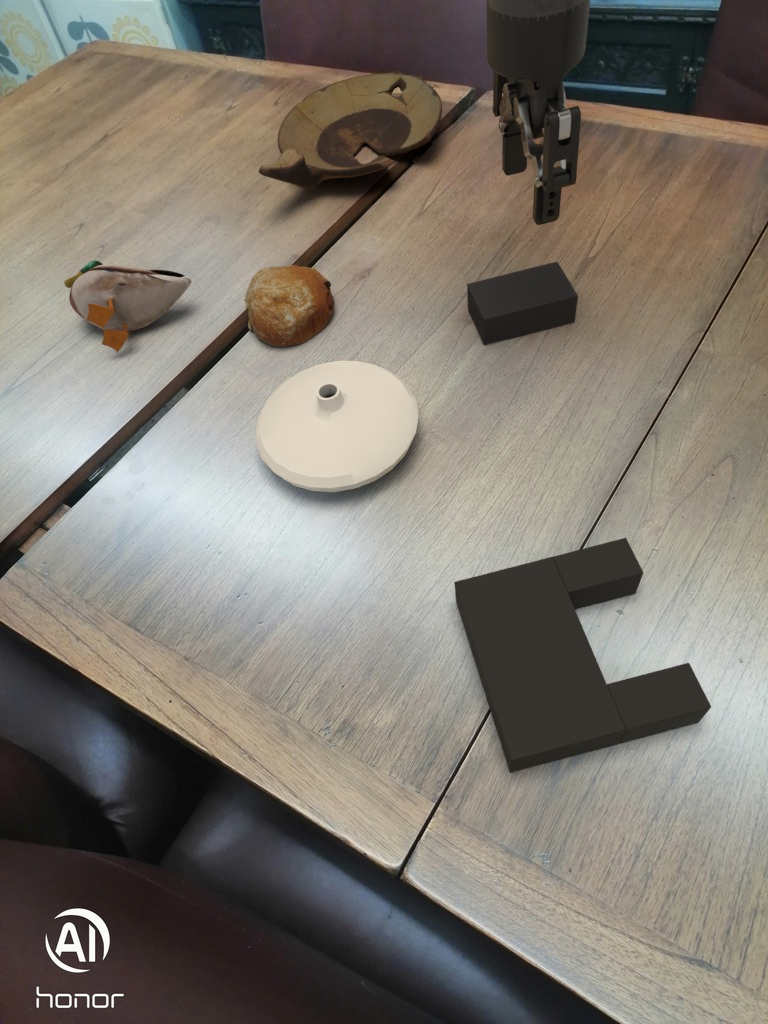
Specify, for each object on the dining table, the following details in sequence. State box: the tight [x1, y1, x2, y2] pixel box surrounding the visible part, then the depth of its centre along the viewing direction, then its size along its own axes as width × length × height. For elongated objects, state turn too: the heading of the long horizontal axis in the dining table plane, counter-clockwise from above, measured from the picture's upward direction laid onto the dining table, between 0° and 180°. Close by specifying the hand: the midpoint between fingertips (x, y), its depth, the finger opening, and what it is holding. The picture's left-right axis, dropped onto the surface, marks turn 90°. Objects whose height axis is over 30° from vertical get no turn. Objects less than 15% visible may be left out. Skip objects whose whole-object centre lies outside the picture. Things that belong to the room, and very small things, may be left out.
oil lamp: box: [258, 70, 443, 189], centre depth 94 cm, size 22×30×8 cm
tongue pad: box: [466, 261, 579, 346], centre depth 73 cm, size 10×6×4 cm, turn 102°
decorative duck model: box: [63, 260, 192, 353], centre depth 81 cm, size 15×8×15 cm
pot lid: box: [255, 360, 420, 493], centre depth 65 cm, size 16×16×7 cm
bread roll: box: [243, 264, 335, 348], centre depth 78 cm, size 10×10×8 cm
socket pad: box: [454, 537, 712, 773], centre depth 52 cm, size 14×14×4 cm
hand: (529, 195), depth 64 cm, fingers open, 8 cm apart
